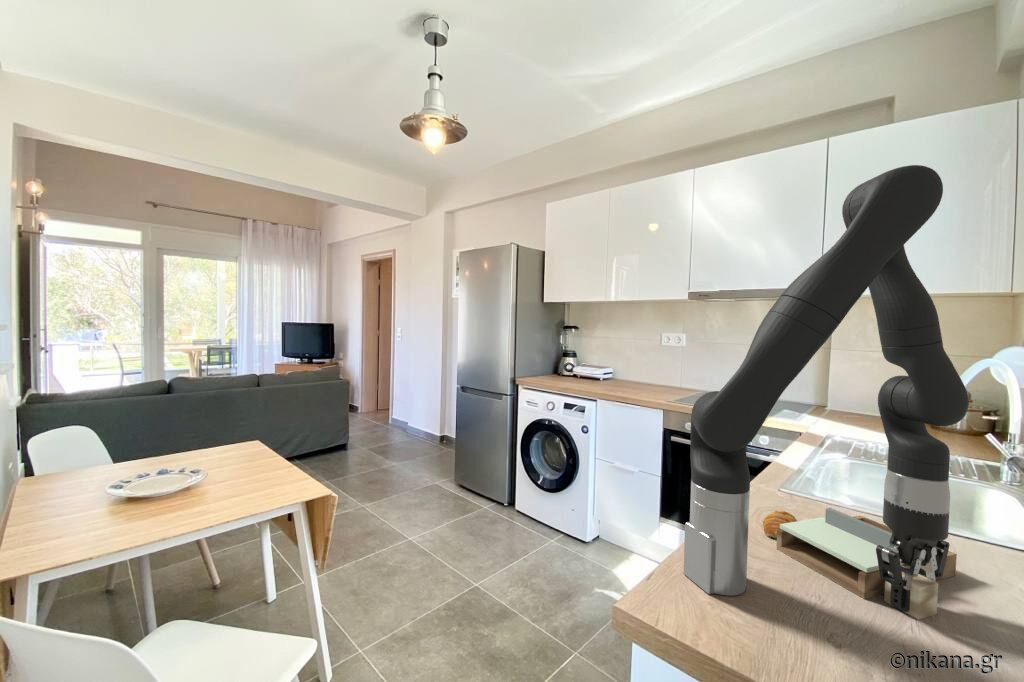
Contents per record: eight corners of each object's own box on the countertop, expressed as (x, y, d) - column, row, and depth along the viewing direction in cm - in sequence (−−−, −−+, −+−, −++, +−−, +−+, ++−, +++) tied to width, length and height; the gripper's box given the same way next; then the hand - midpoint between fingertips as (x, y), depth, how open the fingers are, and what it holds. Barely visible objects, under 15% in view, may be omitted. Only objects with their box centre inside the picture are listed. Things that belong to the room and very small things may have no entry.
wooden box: (864, 598, 68) (865, 575, 68) (776, 548, 84) (777, 529, 84) (955, 575, 76) (956, 554, 75) (859, 533, 91) (860, 515, 91)
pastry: (792, 547, 85) (793, 529, 85) (755, 535, 90) (756, 518, 90) (801, 531, 92) (802, 514, 91) (767, 521, 96) (767, 505, 96)
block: (917, 619, 64) (919, 588, 64) (884, 601, 68) (885, 571, 68) (936, 614, 65) (938, 583, 65) (902, 596, 69) (903, 567, 69)
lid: (866, 572, 69) (867, 551, 68) (779, 528, 84) (780, 510, 83) (914, 561, 72) (915, 541, 72) (822, 520, 87) (823, 503, 87)
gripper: (914, 517, 60) (909, 631, 61) (975, 506, 64) (969, 612, 65) (858, 496, 67) (853, 598, 68) (916, 488, 72) (911, 584, 72)
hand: (910, 605), depth 67 cm, fingers closed on block, 4 cm apart
